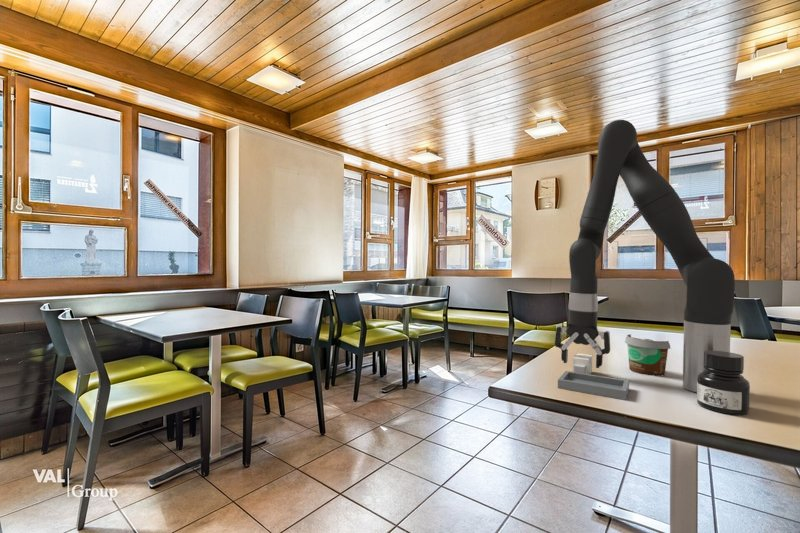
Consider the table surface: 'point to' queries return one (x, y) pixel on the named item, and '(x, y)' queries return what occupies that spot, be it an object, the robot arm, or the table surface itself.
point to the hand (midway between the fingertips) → (581, 365)
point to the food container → (647, 355)
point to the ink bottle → (723, 383)
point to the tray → (594, 384)
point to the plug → (582, 363)
